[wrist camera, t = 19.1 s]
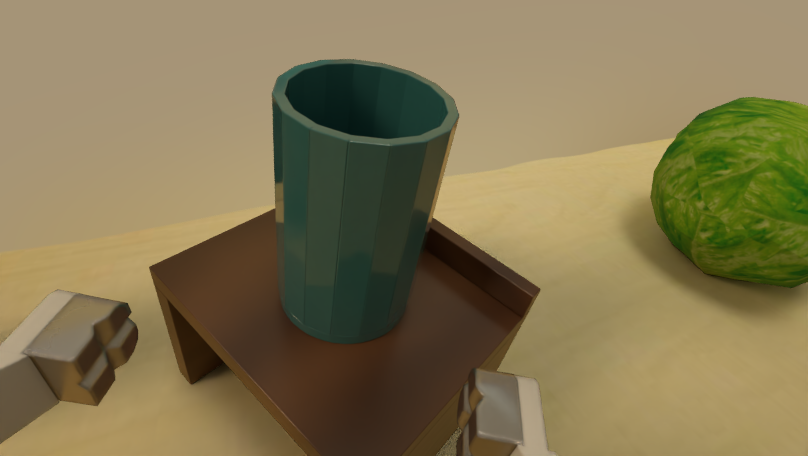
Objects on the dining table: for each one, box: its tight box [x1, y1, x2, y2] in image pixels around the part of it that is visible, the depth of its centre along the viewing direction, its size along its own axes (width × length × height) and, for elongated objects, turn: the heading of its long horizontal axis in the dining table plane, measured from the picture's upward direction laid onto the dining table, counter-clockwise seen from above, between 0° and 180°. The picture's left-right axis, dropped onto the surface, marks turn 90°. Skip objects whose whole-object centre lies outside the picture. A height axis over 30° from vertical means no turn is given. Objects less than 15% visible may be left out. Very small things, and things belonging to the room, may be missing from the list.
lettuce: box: [651, 97, 808, 288], centre depth 40 cm, size 17×20×15 cm
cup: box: [272, 59, 459, 344], centre depth 18 cm, size 6×6×10 cm
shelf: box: [149, 208, 540, 456], centre depth 24 cm, size 14×12×11 cm
